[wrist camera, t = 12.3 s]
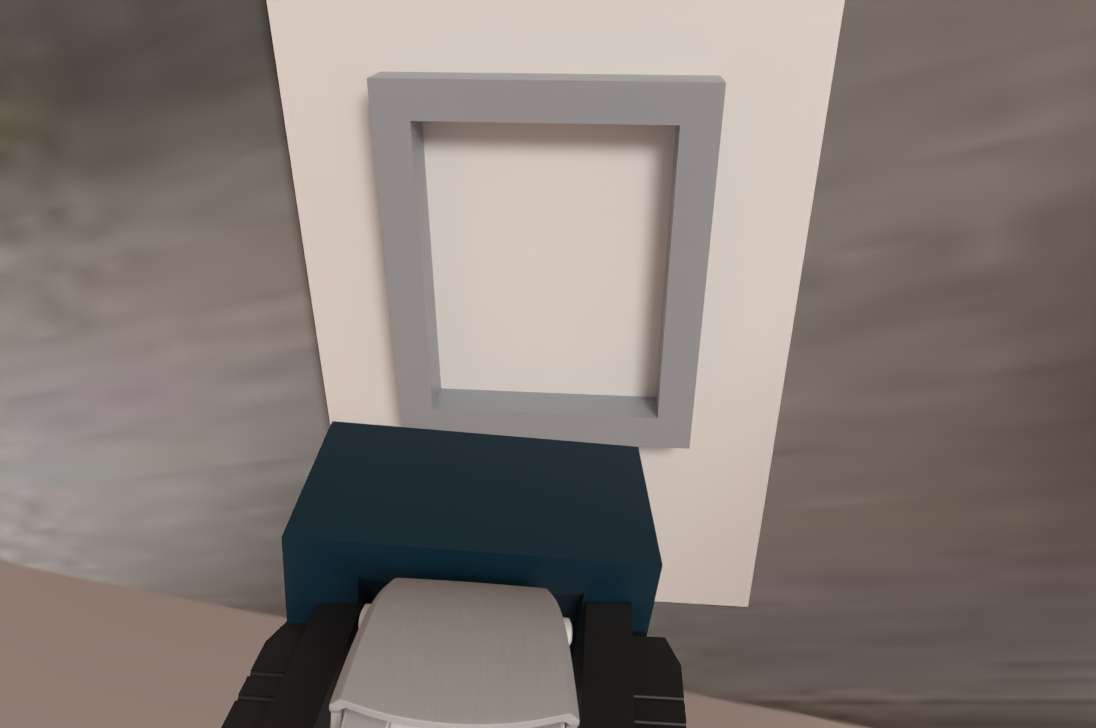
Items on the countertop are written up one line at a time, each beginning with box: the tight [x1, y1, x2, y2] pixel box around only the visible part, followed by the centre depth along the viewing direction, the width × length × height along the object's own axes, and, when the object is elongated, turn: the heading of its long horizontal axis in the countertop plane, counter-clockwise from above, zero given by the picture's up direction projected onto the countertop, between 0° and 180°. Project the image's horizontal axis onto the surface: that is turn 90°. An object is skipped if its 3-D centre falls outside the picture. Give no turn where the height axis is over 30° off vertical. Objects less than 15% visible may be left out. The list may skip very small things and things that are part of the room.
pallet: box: [266, 0, 845, 607], centre depth 28 cm, size 24×17×3 cm
